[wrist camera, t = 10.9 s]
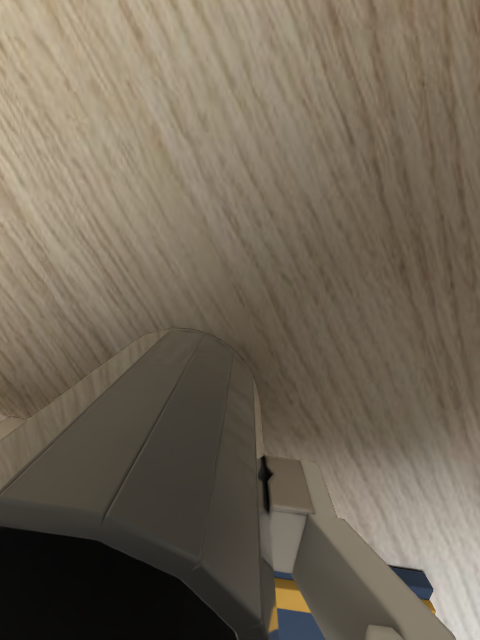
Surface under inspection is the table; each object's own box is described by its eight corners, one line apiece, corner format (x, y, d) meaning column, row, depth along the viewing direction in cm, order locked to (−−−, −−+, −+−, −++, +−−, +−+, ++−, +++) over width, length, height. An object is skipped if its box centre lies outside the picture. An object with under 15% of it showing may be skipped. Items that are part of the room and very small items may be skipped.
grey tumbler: (270, 340, 10) (326, 548, 3) (245, 473, 11) (241, 822, 4) (109, 315, 10) (-236, 465, 3) (106, 452, 11) (-126, 771, 4)
